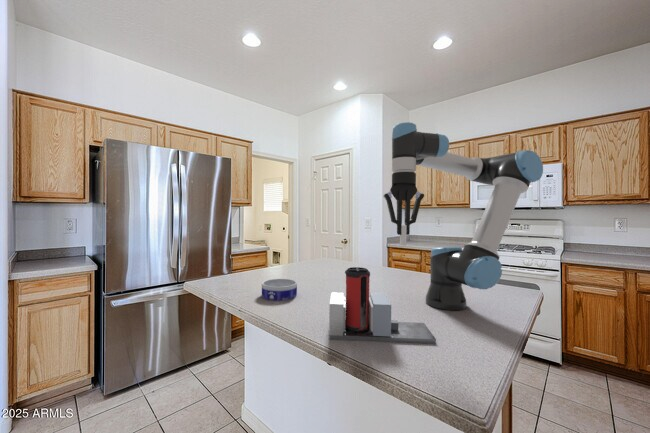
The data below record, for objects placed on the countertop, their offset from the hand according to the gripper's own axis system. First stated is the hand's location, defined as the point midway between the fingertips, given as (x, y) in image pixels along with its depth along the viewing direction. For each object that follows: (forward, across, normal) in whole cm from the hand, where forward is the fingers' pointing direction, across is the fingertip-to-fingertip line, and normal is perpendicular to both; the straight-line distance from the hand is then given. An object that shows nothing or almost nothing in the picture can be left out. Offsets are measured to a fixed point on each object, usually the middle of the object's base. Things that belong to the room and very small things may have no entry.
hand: (403, 244), depth 93 cm
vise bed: (+26, +8, +7) cm, 28 cm away
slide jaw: (+25, +7, +7) cm, 27 cm away
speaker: (+25, +15, +6) cm, 30 cm away
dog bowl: (+27, +47, -28) cm, 61 cm away
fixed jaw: (+25, +21, +7) cm, 33 cm away
